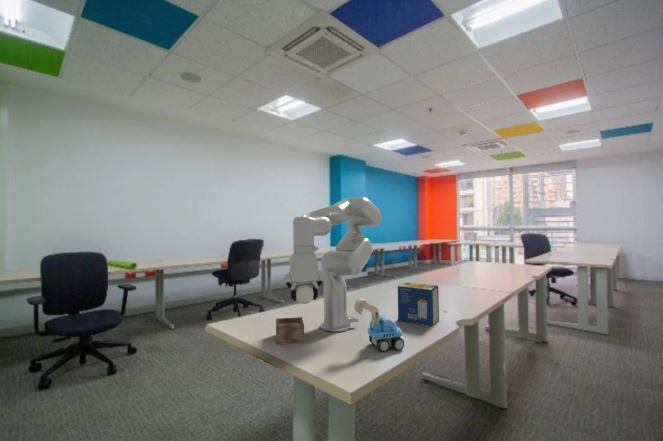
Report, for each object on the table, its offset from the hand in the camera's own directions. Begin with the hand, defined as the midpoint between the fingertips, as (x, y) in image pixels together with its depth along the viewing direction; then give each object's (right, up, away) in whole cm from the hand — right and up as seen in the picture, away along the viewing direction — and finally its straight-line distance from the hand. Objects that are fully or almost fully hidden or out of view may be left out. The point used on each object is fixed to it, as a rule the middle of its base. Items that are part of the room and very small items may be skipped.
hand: (304, 299), depth 111 cm
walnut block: (-6, -16, +4) cm, 17 cm away
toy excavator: (+26, -15, -6) cm, 31 cm away
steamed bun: (0, -2, 0) cm, 2 cm away
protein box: (+48, -16, +25) cm, 57 cm away
